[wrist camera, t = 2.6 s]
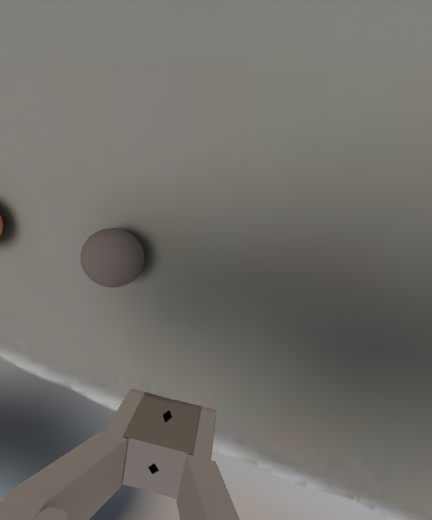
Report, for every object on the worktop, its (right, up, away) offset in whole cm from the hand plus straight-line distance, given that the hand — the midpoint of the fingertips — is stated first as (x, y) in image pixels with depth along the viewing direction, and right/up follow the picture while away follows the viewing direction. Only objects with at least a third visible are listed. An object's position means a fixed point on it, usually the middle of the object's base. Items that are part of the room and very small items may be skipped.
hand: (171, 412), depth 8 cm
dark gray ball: (-7, +5, +13) cm, 15 cm away
